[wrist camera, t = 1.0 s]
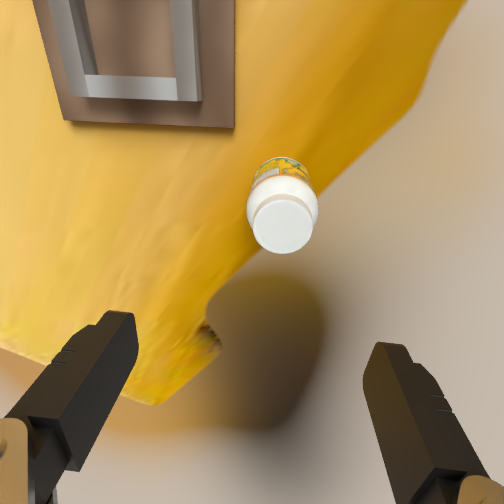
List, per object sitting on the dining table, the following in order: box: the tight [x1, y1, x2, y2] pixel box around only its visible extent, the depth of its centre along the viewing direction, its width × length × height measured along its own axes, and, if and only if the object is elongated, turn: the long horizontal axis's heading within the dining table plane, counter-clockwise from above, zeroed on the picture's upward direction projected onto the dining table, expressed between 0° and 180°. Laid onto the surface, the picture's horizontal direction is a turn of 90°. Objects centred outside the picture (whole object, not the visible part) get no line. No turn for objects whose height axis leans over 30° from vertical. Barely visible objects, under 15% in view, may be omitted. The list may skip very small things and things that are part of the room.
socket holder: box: [32, 0, 235, 128], centre depth 21 cm, size 15×14×3 cm
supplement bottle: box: [246, 157, 318, 254], centre depth 24 cm, size 6×5×10 cm
